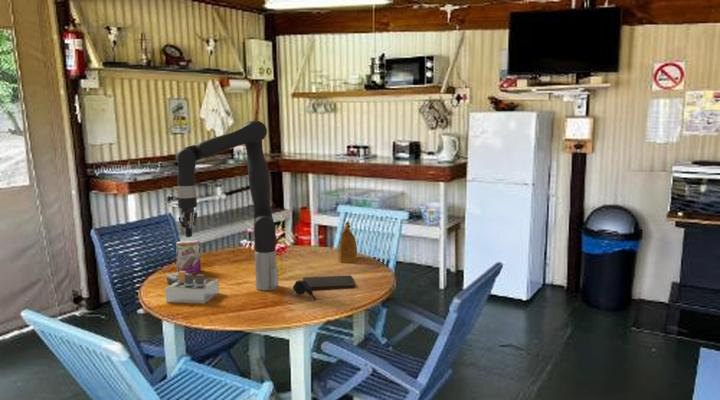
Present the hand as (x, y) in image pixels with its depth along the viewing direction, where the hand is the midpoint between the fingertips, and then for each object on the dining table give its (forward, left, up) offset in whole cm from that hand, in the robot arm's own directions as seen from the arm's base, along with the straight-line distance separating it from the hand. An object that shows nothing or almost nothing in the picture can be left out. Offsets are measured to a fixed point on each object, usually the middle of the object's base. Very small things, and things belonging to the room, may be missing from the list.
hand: (189, 236), depth 230 cm
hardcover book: (-54, -26, -27) cm, 66 cm away
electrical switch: (+12, -18, -27) cm, 35 cm away
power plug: (-52, -4, -29) cm, 60 cm away
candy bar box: (+19, -36, -27) cm, 49 cm away
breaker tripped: (+5, -1, -20) cm, 21 cm away
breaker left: (-5, +3, -20) cm, 21 cm away
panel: (0, 0, -27) cm, 27 cm away
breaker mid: (0, +3, -20) cm, 20 cm away
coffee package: (-57, -65, -27) cm, 90 cm away
